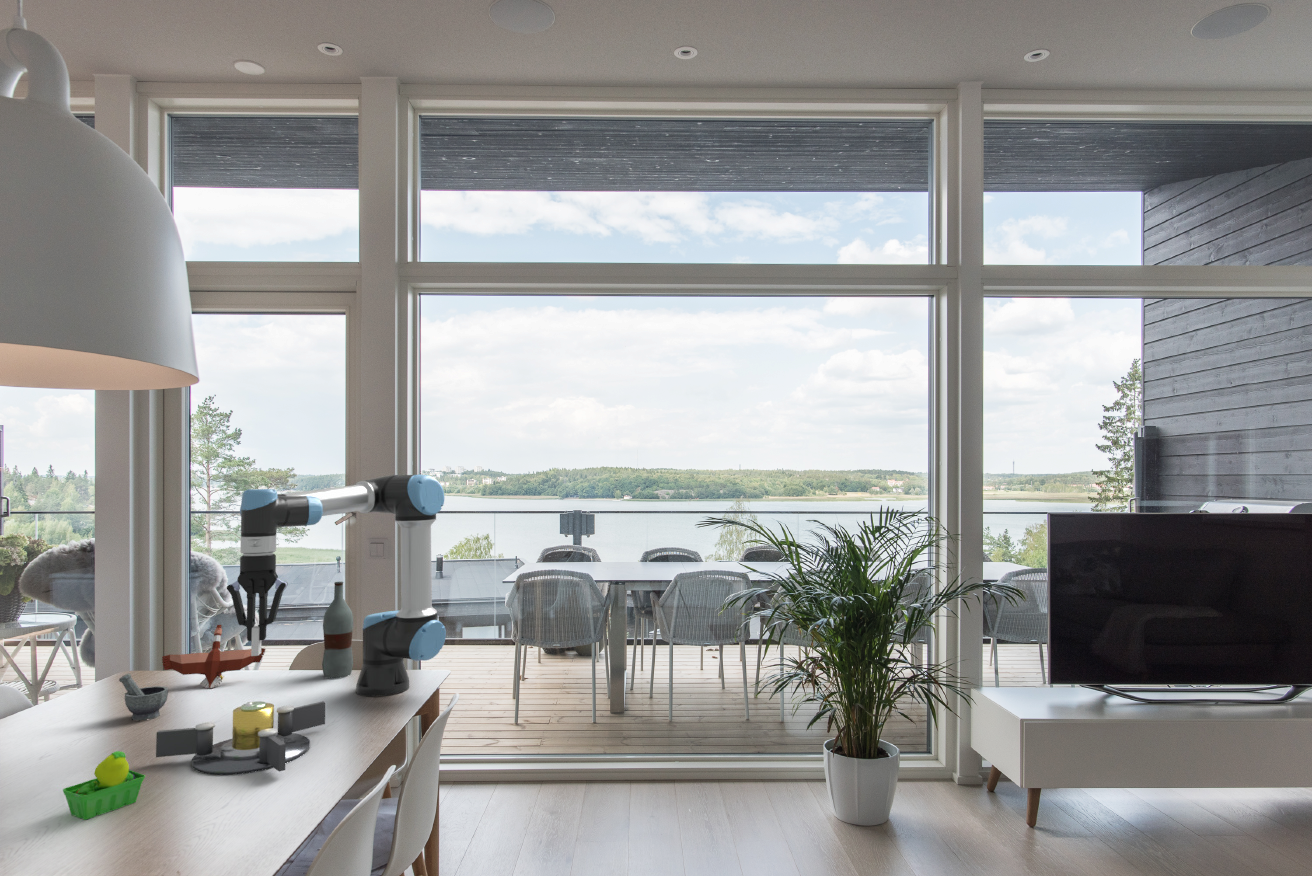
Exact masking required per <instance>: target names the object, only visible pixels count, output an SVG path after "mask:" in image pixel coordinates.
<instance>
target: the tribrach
mask: <svg viewBox="0 0 1312 876" xmlns="http://www.w3.org/2000/svg"><path fill="white" fill-rule="evenodd" d="M274 715H275V705H274V704H273V703H270V702H266V701H259V700H258V701H252V702H251V701H249V702H246V703H243V704H242V705H241V706H237V707H235V708H234V709H233V710H232V736H231V737H232V738H229V739H226V740H223V741H219V742H217V743H213V752H212V753H211V754H208V755H202V756H198V755H196V754H194V756H193V757H192V759H191V767H192V769H193V770H194V771H196V772H198V773H201V774H205V775H214V776H220V775H221V776H230V775H233V776H234V775H243V774H249V772H250V773H256V772H261V771H265V769H266V770H268V769H269V768H270V769H273V768H274V767H273V766H271V765H270V764H269V763H268V762H267V763H261V762H259V741H260V736H258V732H259V731H261V730H264V729H269V728H274V727H275V726H274V718H275V717H274ZM276 737H277V738H278V739H279V740H281V741H282V742H284V743H285V744H286V755H285V763H286V764H288V763H291V762H292V761H295V760H297V759H299V758H301V757H302V756H304V755H305V754H307V752H309V750H310V746H311V743H310V742H311V741H310V738H309V737H307V736H305V735H304V734H299V733H295V732H292V734H291V735H289V736H281V735H278V731H277V734H276ZM303 754H304V755H303ZM300 756H301V757H300ZM290 761H291V762H290ZM287 762H288V763H287ZM270 769H269V770H270ZM255 771H256V772H255ZM242 773H243V774H242Z"/></svg>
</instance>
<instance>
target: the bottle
mask: <svg viewBox="0 0 1312 876" xmlns="http://www.w3.org/2000/svg"><path fill="white" fill-rule="evenodd" d="M333 584H334V592H333V594H334V596H333V600H332V601H331V603H330V604H329V607H328V608H326V611H325V612H324V615H323V620H322V631H323V646H324V647H323V648H324V651H323V655H322V662H321V666H322V673H323V677H324V678H325V679H341V678H340V677H342V678H346V677H349V676H351V675H352V672H353V666H354V658H353V657H354V656H353V649H352V642H353V641H352V640H353V639H352V638H353V631H354V629H353V628H354V615H353V611H352V609H351V608H350V606H349V605H348V603H347V602H346V600H345V599H344V581H335V582H334V583H333ZM348 675H349V676H348Z"/></svg>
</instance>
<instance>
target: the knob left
mask: <svg viewBox="0 0 1312 876" xmlns="http://www.w3.org/2000/svg"><path fill="white" fill-rule="evenodd" d="M277 732H278V728H269V729H264V730H261V731H259V732H258V736H260V741H259V762H261V763H267V762H268V763H269V764H270V765H271V766H273V768H274V769H275V770H277V771H278V772H283V771H286V764H285V755H286V744H285V743H284V742H282V741H281V740H279V739H278V738H277V737H276V734H277Z"/></svg>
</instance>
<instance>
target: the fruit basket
mask: <svg viewBox="0 0 1312 876" xmlns="http://www.w3.org/2000/svg"><path fill="white" fill-rule="evenodd" d="M126 757H127V755H126V753H125V752H124V751H120V750H117V751H114V752H111V754H109V755H108V756H107V757H106V758H104V759H103V760H102V761H101V762H100V763H98V765H97V766H96V767H95V769H94V772H93V774H94V776H95V778H93V779H90V780H87V781H83V782H80V783H77V784H75V785H71V786H68V787H64V788H63V789H62V792H63V795H64V796H65V799H66V802H67V804H68V805H67V806H68V808H69V812H70V815H71V816H75V817H76V818H78V819H83V820H84V821H85V820H90V819H92V818H95V817H97V816H101V815H103V814H106V813H109V812H111V811H115V810H118V809H121V808H123V807H126V806H129V805H132V804H134V803H136V802H137V799H138V796H139V794H140V790H141V787H142V784H143V782H144V780H145V778H146V774H142V773H139V772H136V771H134V770H130V765H129V762H128V761H127V759H126Z"/></svg>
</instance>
